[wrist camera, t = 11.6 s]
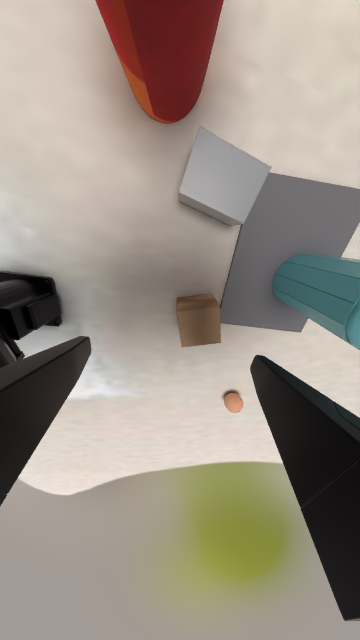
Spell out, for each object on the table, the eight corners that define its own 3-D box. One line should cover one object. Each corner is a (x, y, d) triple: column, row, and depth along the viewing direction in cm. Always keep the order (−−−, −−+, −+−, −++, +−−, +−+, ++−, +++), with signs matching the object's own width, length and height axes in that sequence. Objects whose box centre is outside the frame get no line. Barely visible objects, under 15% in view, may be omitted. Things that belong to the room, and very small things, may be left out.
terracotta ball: (220, 400, 30) (224, 416, 27) (224, 388, 29) (229, 403, 26) (236, 401, 30) (242, 417, 28) (241, 389, 29) (248, 405, 26)
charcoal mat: (216, 321, 23) (216, 322, 22) (255, 171, 16) (257, 170, 15) (298, 331, 24) (300, 332, 23) (371, 193, 17) (375, 192, 16)
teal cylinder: (279, 310, 22) (356, 366, 12) (266, 270, 19) (348, 302, 10) (327, 288, 20) (452, 332, 11) (318, 243, 18) (468, 250, 9)
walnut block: (181, 328, 23) (181, 347, 19) (176, 297, 21) (176, 312, 17) (213, 324, 23) (220, 342, 19) (212, 293, 21) (219, 306, 17)
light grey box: (178, 201, 17) (178, 191, 13) (194, 151, 15) (199, 125, 12) (230, 226, 18) (243, 223, 14) (250, 182, 16) (271, 167, 13)
